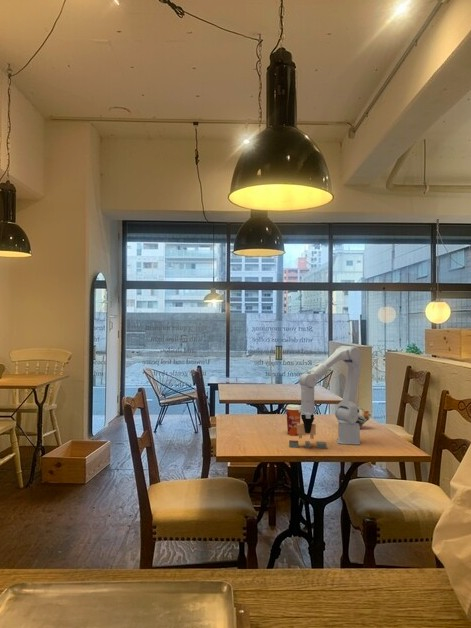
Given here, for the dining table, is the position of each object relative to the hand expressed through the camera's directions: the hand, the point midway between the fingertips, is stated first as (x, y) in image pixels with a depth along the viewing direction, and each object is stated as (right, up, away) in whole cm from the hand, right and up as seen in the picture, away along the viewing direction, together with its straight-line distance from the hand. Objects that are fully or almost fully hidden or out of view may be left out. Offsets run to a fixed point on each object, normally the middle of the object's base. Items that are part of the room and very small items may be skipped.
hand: (307, 432), depth 190 cm
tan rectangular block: (-1, -3, 0) cm, 3 cm away
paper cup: (-3, -8, +22) cm, 24 cm away
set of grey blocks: (0, -6, 0) cm, 6 cm away
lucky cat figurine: (+31, -9, +39) cm, 51 cm away
